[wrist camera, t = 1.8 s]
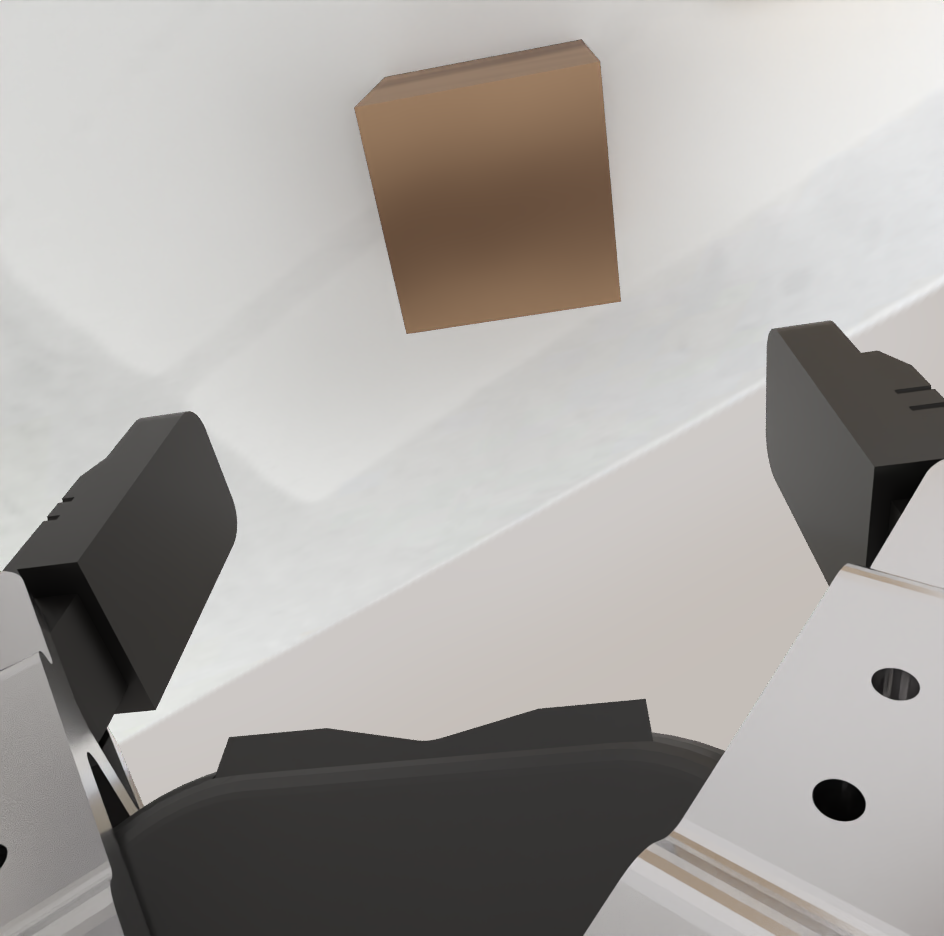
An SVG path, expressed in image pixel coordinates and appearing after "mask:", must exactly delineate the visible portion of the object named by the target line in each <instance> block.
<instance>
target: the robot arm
mask: <svg viewBox="0 0 944 936" xmlns="http://www.w3.org/2000/svg"><path fill="white" fill-rule="evenodd" d="M766 442H767V451H768V458H769V462H770V467H771V470H772V473H773V476H774V478H775V481H776V482H777V485H778V486H779V488H780V490H781V492H782V494H783V496H784V498H785V500H786V502H787V504H788V506H789V508H790V510H791V512H792V514H793V516H794V518H795V520H796V522H797V524H798V526H799V528H800V530H801V532H802V534H803V536H804V538H805V540H806V542H807V543H808V546H809V548H810V550H811V552H812V553H813V555H814V557H815V559H816V561H817V563H818V565H819V567H820V569H821V571H822V573H823V575H824V577H825V579H826V581H827V583H828V585H829V588H828V589H827V591H826V593H825V594H824V596H823V597H822V599H821V600H820V602H819V604H818V605H817V607H816V608H815V610H814V612H813V613H812V615H811V616H810V618H809V619H808V621H807V623H806V624H805V626H804V627H803V629H802V631H801V632H800V634H799V635H798V637H797V638H796V640H795V642H794V643H793V645H792V646H791V648H790V649H789V651H788V653H787V654H786V656H785V657H784V659H783V661H782V662H781V664H780V665H779V667H778V668H777V670H776V672H775V673H774V675H773V677H772V678H771V680H770V681H769V683H768V684H767V686H766V688H765V689H764V691H763V692H762V694H761V695H760V697H759V699H758V700H757V702H756V703H755V705H754V706H753V708H752V710H751V711H750V713H749V714H748V716H747V718H746V719H745V721H744V722H743V724H742V725H741V727H740V729H739V730H738V732H737V733H736V735H735V736H734V738H733V740H732V742H731V743H730V745H729V746H728V748H727V749H726V751H724V750H721V749H718V748H715V747H712V746H710V745H707V744H704V743H701V742H697V741H693V740H689V739H685V738H681V737H676V736H672V735H664V734H659V733H652V732H651V727H650V721H649V716H648V710H647V704H646V699H640V700H629V701H619V702H608V703H597V704H586V705H575V706H565V707H554V708H542V709H536V710H533V711H530V712H526V713H523V714H520V715H516V716H513V717H510V718H506V719H503V720H500V721H496V722H493V723H490V724H487V725H483V726H480V727H477V728H473V729H470V730H467V731H463V732H460V733H457V734H453V735H450V736H447V737H443V738H440V739H436V740H430V741H417V740H410V739H402V738H394V737H387V736H380V735H372V734H365V733H358V732H350V731H343V730H335V729H328V728H324V729H314V730H303V731H292V732H282V733H270V734H259V735H248V736H237V737H229V739H228V742H227V745H226V748H225V750H224V753H223V756H222V759H221V762H220V764H219V767H218V770H217V772H215V773H212V774H209V775H206V776H204V777H201V778H199V779H196V780H194V781H192V782H189V783H187V784H184V785H182V786H180V787H178V788H176V789H174V790H172V791H170V792H168V793H166V794H164V795H163V796H161V797H159V798H157V799H156V800H154V801H153V802H151V803H149V804H148V805H146V806H144V805H143V803H142V800H141V798H140V796H139V793H138V791H137V788H136V786H135V784H134V781H133V779H132V776H131V774H130V771H129V769H128V767H127V764H126V762H125V759H124V757H123V755H122V752H121V750H120V747H119V745H118V743H117V741H116V740H115V738H114V736H113V734H112V733H111V731H110V729H109V727H108V725H109V723H110V721H111V719H112V717H113V715H114V714H120V713H130V712H140V711H150V710H156V708H157V706H158V704H159V702H160V700H161V698H162V696H163V693H164V691H165V689H166V687H167V685H168V683H169V681H170V679H171V676H172V674H173V672H174V670H175V668H176V666H177V664H178V661H179V659H180V657H181V655H182V653H183V651H184V649H185V647H186V644H187V642H188V640H189V638H190V636H191V634H192V632H193V630H194V627H195V625H196V623H197V621H198V619H199V617H200V615H201V613H202V610H203V608H204V606H205V604H206V602H207V600H208V598H209V595H210V593H211V591H212V589H213V587H214V585H215V583H216V581H217V578H218V576H219V574H220V572H221V570H222V568H223V566H224V564H225V561H226V559H227V557H228V555H229V553H230V551H231V549H232V547H233V544H234V542H235V538H236V533H237V516H236V510H235V505H234V502H233V499H232V496H231V494H230V491H229V489H228V486H227V483H226V481H225V478H224V476H223V473H222V471H221V468H220V465H219V463H218V460H217V458H216V455H215V453H214V450H213V447H212V445H211V442H210V440H209V437H208V435H207V432H206V429H205V427H204V425H203V423H202V421H201V420H200V418H199V417H198V416H197V415H196V414H195V413H193V412H190V411H188V412H181V413H174V414H167V415H160V416H153V417H146V418H140V419H138V420H137V421H136V422H135V423H134V424H133V425H132V427H131V428H130V429H129V430H128V432H127V433H126V434H125V435H124V437H123V438H122V439H121V440H120V441H119V443H118V444H117V445H116V446H115V448H114V449H113V450H112V451H111V453H110V454H109V455H108V456H107V458H105V459H104V460H103V461H101V462H100V463H99V464H97V465H96V466H94V467H93V468H92V469H90V470H89V471H87V472H86V473H85V474H83V475H82V476H80V478H79V479H78V480H77V481H76V482H75V484H74V485H73V486H72V487H71V488H70V490H69V491H68V492H67V493H66V495H65V496H64V497H63V498H62V500H63V502H62V503H58V504H57V505H56V507H55V508H54V509H53V510H52V511H51V513H50V514H49V515H48V516H47V518H48V521H43V522H42V524H41V525H40V526H39V527H38V528H37V530H36V531H35V532H34V533H33V534H32V536H31V537H30V538H29V539H28V541H27V542H26V543H25V544H24V545H23V547H22V548H21V549H20V550H19V551H18V553H17V554H16V555H15V556H14V558H13V559H12V560H11V561H10V562H9V564H8V565H7V566H6V567H5V568H4V570H3V571H0V936H944V398H943V397H942V396H941V395H940V394H939V393H938V392H937V391H936V390H935V389H931V385H930V384H929V383H928V382H927V381H926V380H925V379H924V377H923V376H922V375H920V373H919V372H917V370H916V369H915V368H914V367H913V366H912V365H910V364H907V363H905V362H903V361H900V360H898V359H896V358H893V357H891V356H889V355H887V354H884V353H882V352H880V351H872V352H865V353H860V351H859V350H858V349H857V348H856V347H855V346H854V345H853V343H852V342H851V341H850V340H849V339H848V338H847V337H846V336H845V334H844V333H843V332H842V331H841V330H840V329H839V328H838V327H837V325H836V324H835V323H834V322H833V321H824V322H817V323H810V324H803V325H796V326H789V327H782V328H775V329H772V330H771V331H770V333H769V336H768V341H767V376H766Z"/></svg>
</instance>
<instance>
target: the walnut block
mask: <svg viewBox="0 0 944 936" xmlns="http://www.w3.org/2000/svg"><path fill="white" fill-rule="evenodd" d="M354 109H355V113H356V117H357V122H358V126H359V130H360V135H361V139H362V143H363V148H364V152H365V156H366V161H367V165H368V169H369V174H370V178H371V182H372V187H373V191H374V195H375V199H376V204H377V208H378V212H379V217H380V221H381V225H382V230H383V234H384V238H385V243H386V247H387V251H388V256H389V260H390V264H391V269H392V273H393V277H394V281H395V286H396V290H397V294H398V299H399V303H400V307H401V312H402V316H403V320H404V325H405V329H406V333H407V334H410V333H416V332H423V331H430V330H436V329H443V328H449V327H456V326H462V325H469V324H476V323H482V322H489V321H495V320H502V319H509V318H515V317H522V316H528V315H535V314H542V313H548V312H555V311H561V310H568V309H575V308H581V307H588V306H594V305H601V304H607V303H614V302H621V297H620V286H619V274H618V263H617V251H616V240H615V228H614V217H613V205H612V194H611V182H610V170H609V159H608V147H607V136H606V124H605V113H604V101H603V90H602V78H601V66H600V61H599V60H598V58H597V57H596V56H595V55H594V54H593V52H592V51H591V50H590V49H589V48H588V47H587V45H586V44H585V43H584V42H583V41H582V39H581V40H576V41H571V42H566V43H561V44H555V45H550V46H545V47H540V48H535V49H529V50H524V51H519V52H514V53H508V54H503V55H498V56H493V57H488V58H482V59H477V60H472V61H467V62H462V63H456V64H451V65H446V66H441V67H435V68H430V69H425V70H420V71H415V72H409V73H404V74H399V75H394V76H388V77H385V78H384V79H383V80H382V81H381V82H380V83H379V84H378V85H377V86H376V87H375V88H374V89H373V90H372V91H371V92H369V93H368V94H367V95H366V96H365V97H364V98H363V99H362V100H361V101H360V102H359V103H358V104H357V105H356V106H355V107H354Z"/></svg>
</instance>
